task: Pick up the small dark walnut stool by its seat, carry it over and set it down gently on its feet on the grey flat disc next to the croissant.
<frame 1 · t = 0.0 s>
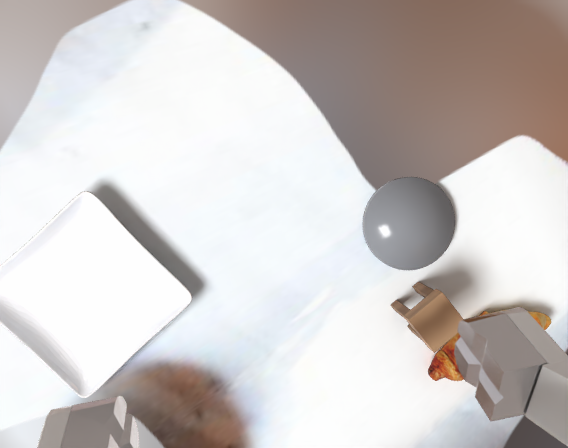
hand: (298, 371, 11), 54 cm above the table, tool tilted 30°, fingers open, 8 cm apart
stool: (415, 306, 68), on the table
salad plate: (93, 290, 64), on the table
grey flat disc: (407, 223, 67), on the table
croissant: (482, 341, 70), on the table
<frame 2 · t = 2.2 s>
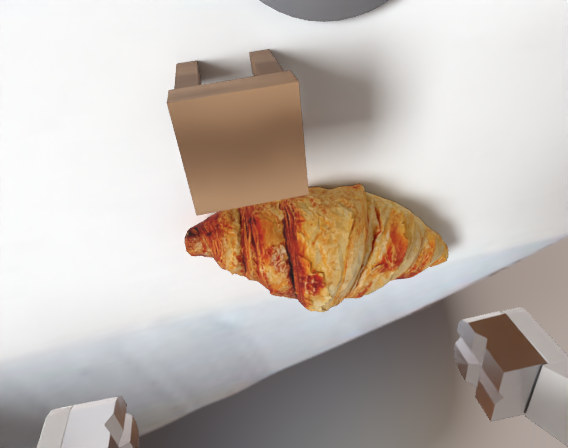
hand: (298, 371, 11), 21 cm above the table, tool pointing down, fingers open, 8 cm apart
stool: (231, 101, 28), on the table
croissant: (319, 231, 36), on the table
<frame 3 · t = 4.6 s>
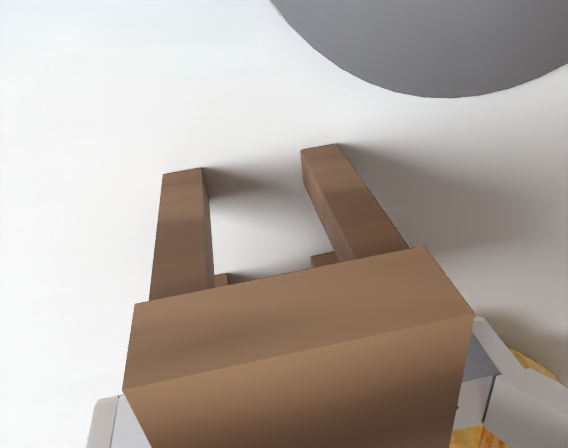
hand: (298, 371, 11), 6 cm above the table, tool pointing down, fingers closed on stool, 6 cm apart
stool: (263, 230, 16), on the table, touching gripper
croissant: (391, 385, 23), on the table
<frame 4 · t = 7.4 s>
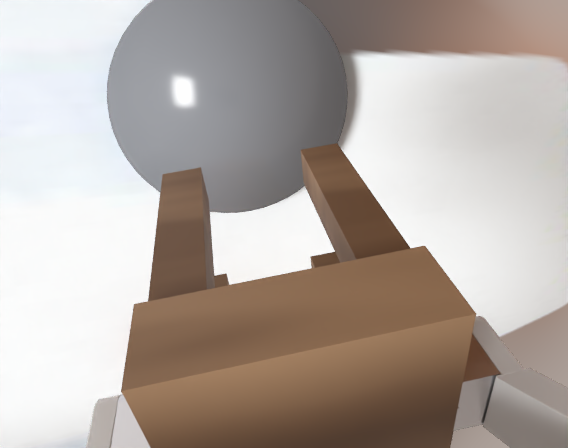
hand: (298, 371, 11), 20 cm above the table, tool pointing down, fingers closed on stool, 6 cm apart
stool: (263, 230, 16), point 14 cm above the table, touching gripper
grey flat disc: (231, 106, 27), on the table
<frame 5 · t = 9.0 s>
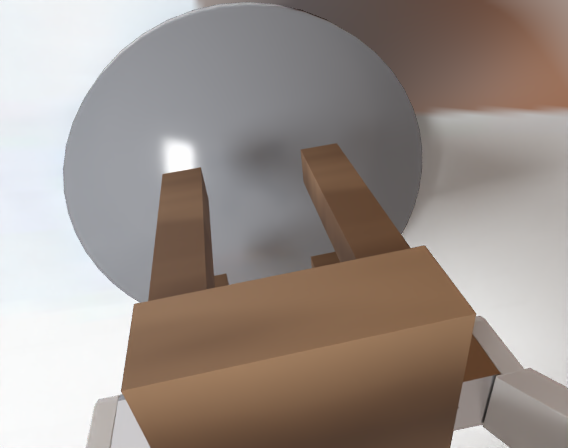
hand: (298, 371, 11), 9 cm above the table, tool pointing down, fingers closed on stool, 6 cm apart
stool: (263, 230, 16), point 3 cm above the table, touching gripper
grey flat disc: (252, 188, 18), on the table
when the fingers open (8 cm above the table, at t = 10.3 s): stool stays where it is, resting on grey flat disc.
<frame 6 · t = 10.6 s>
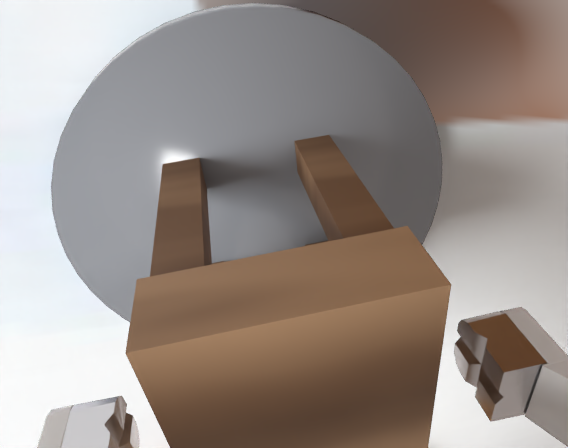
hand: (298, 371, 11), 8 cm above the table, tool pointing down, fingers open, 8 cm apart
stool: (259, 218, 16), point 1 cm above the table, touching grey flat disc
grey flat disc: (257, 204, 17), on the table
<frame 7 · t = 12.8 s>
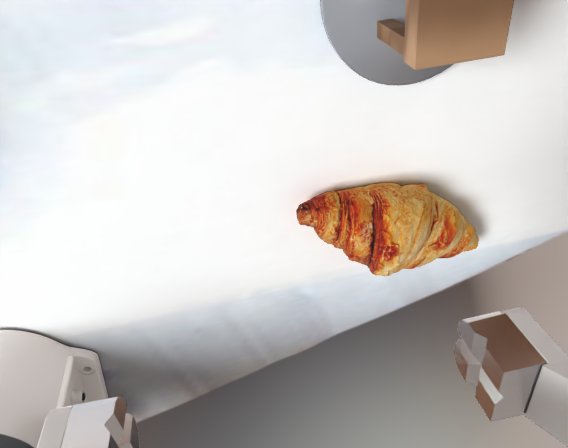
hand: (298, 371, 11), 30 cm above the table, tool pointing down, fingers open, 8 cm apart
croissant: (384, 216, 47), on the table
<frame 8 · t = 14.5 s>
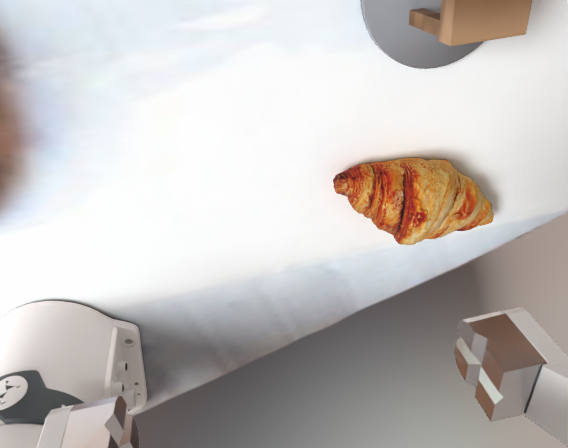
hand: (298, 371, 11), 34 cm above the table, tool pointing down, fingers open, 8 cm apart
croissant: (409, 191, 51), on the table
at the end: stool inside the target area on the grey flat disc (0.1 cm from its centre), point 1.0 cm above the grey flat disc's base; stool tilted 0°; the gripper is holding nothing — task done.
